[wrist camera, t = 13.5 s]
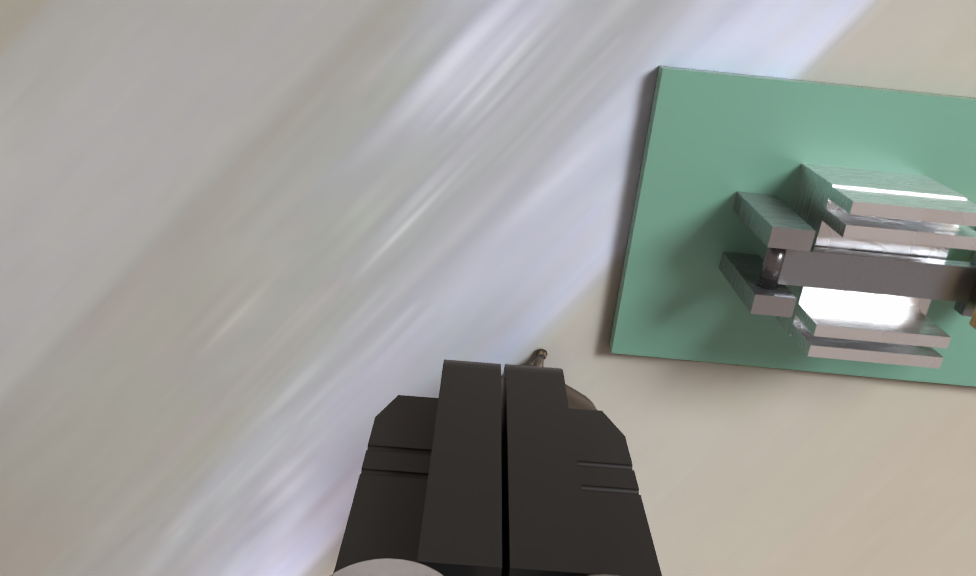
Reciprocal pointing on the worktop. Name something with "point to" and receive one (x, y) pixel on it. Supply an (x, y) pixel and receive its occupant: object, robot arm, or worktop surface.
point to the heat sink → (858, 227)
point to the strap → (873, 274)
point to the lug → (975, 318)
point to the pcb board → (774, 170)
